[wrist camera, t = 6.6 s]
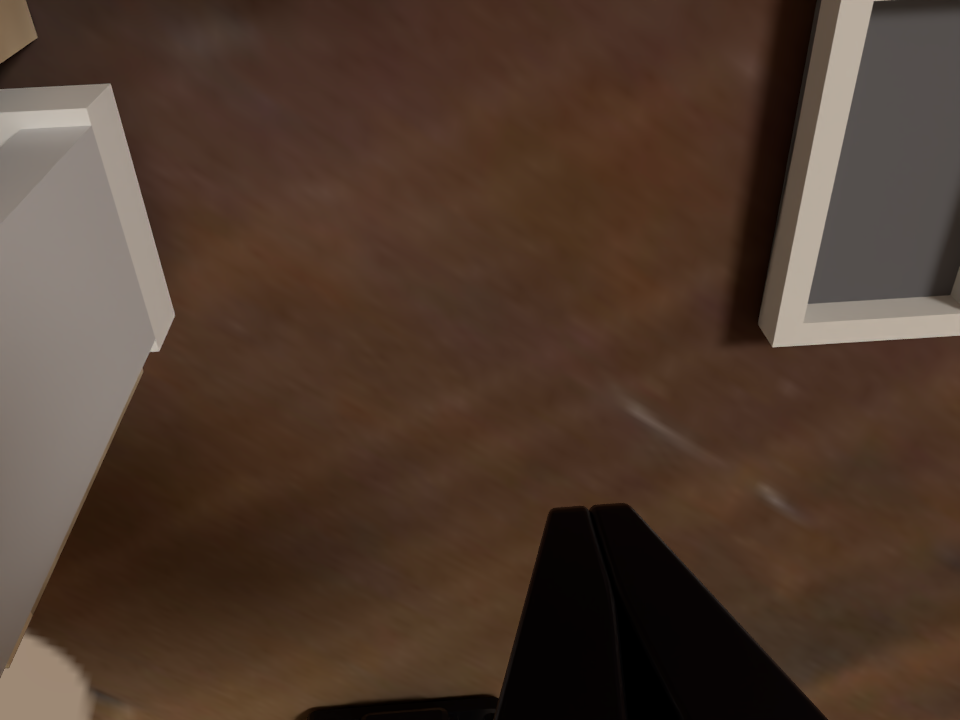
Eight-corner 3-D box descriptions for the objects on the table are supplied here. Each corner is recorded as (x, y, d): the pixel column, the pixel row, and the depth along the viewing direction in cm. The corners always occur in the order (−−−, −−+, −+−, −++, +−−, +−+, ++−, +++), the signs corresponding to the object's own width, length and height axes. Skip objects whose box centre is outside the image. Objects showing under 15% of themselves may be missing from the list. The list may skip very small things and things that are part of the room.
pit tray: (963, 311, 20) (986, 333, 19) (757, 324, 20) (772, 347, 19) (1089, -57, 16) (1126, -48, 15) (824, -45, 16) (848, -34, 15)
